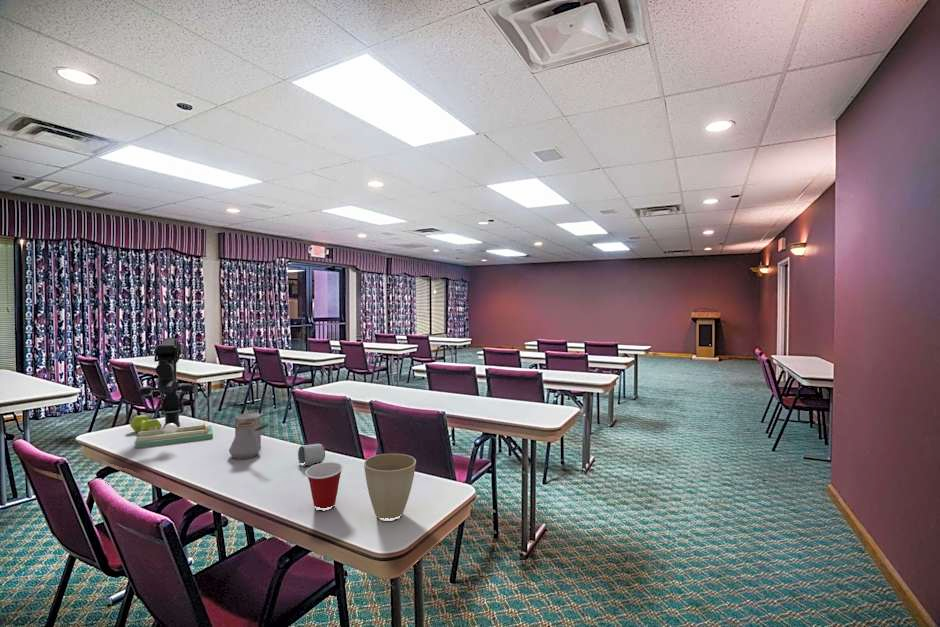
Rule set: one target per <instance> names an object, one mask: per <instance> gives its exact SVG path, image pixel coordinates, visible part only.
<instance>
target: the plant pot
mask: <svg viewBox="0 0 940 627" xmlns="http://www.w3.org/2000/svg"><path fill="white" fill-rule="evenodd" d="M363 466H364V475H365V481H366V482H365V483H366V485H367V492H368V494H369V499H370V501H371V506H372V509H373V511H374V514H375V517H376V516H377V517H379V518H384V519H385V518H389V519H390V518H395V517H398V516H400V515H401V514H402V515H404V514H403V513H404V512H405V509H406V506H407V503H408V501H409V497H410V494H411V490H412V487H413V481H414V476H415V472H416V466H417V460H416V458H414V456H412V455H408V454H404V453H382V454H376V455H373V456H370V457H368V458H366V459H365V460H364V461H363ZM377 517H376V518H377Z"/></svg>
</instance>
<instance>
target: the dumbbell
mask: <svg viewBox="0 0 940 627" xmlns="http://www.w3.org/2000/svg"><path fill="white" fill-rule="evenodd" d="M129 425H130V427H131V429H132V430H133V431H134V432H137V433H138V432H142V431H151V430H160V429H162V423H161V422H160V421H159V420H158V419H157V418H156V419H155V418H151V419H150V418H149V417H148V416H147V415H146V414H141V415H135V416H134V417H133V419H132V420H131V422H130V423H129Z"/></svg>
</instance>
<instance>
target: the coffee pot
mask: <svg viewBox="0 0 940 627" xmlns="http://www.w3.org/2000/svg"><path fill="white" fill-rule="evenodd" d="M253 425H254V423H253V422H242V423H238V424H237V425H236V426H237V427H238V431H237V434H236V436H234V438H233V441H232V443H231V445H230V448H229V450H228V452H229V454H230V455H231V456H232V457H234V458H235V459H236V460H237V459H238V460H245V459H251V458H254V457H255V456H256V455H257V454H258V453H259V452H260V451H261V449H262V444H261V445H260V443H259V441H258V439H257V437H256V435H255V433H254V432H255V431H258V430H263V429H266V430H267V431H269V430H270V428H267V427H269V426H270V424H263V425H261V426H260V427H258V428H257V429H255V430H253V429H252V427H253ZM250 457H251V458H250Z"/></svg>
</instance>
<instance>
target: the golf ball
mask: <svg viewBox="0 0 940 627" xmlns="http://www.w3.org/2000/svg"><path fill="white" fill-rule="evenodd" d="M177 427H178V426H176V424H174V423H169V424H167V425H166V426H165V427H164V426H163V429H164V432H165V433H166V434H172V433H175V432H176V431H177Z"/></svg>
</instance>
